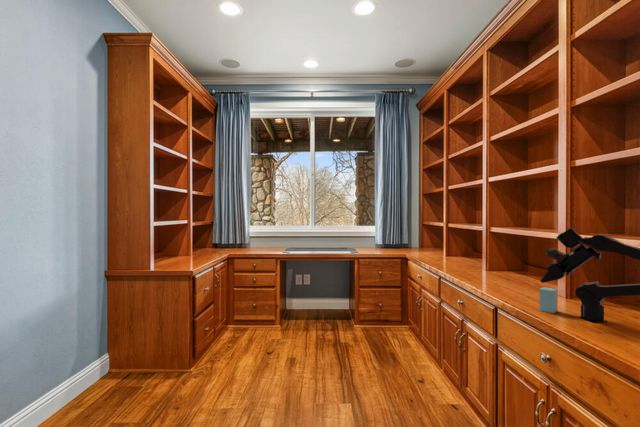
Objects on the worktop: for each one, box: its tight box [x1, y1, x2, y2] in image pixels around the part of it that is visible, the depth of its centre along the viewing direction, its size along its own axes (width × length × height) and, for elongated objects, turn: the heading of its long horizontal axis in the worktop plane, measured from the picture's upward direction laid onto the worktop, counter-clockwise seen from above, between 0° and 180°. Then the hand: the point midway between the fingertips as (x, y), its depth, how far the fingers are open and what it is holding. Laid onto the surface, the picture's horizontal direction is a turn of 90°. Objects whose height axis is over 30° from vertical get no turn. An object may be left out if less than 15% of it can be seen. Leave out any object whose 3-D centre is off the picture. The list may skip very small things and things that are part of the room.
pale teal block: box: [539, 286, 558, 314], centre depth 137 cm, size 5×5×9 cm
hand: (544, 280), depth 138 cm, fingers open, 9 cm apart
